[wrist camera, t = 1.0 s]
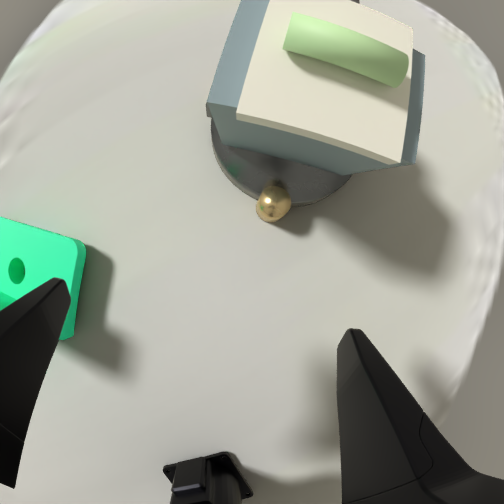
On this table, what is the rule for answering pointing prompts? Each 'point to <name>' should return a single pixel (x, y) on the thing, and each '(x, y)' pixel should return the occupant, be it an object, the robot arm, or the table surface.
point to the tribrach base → (273, 178)
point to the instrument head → (320, 85)
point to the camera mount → (39, 264)
